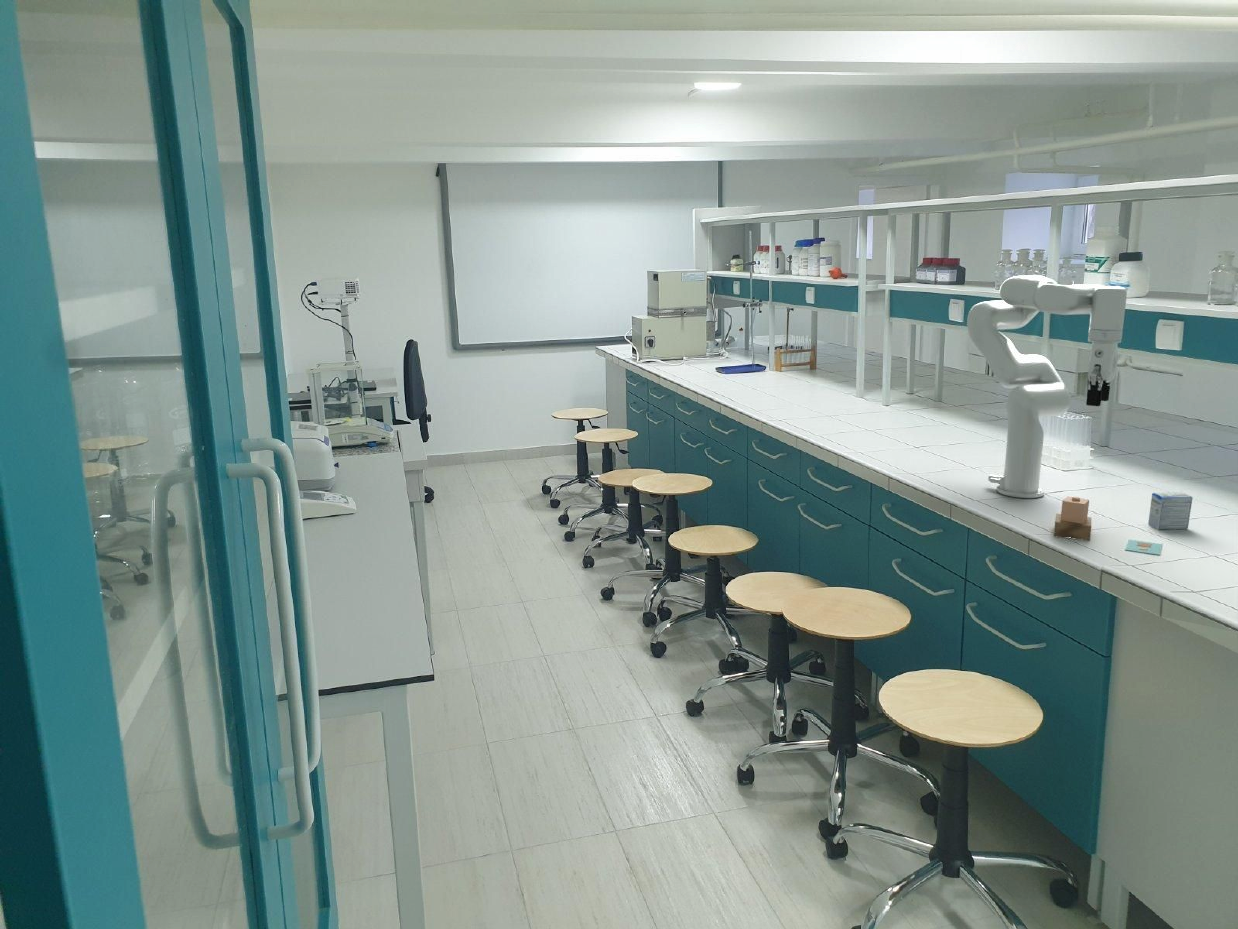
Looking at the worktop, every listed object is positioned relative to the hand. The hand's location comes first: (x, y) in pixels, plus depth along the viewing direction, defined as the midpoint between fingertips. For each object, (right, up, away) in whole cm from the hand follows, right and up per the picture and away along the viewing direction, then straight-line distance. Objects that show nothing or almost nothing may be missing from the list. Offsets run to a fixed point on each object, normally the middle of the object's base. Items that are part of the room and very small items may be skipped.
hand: (1097, 403), depth 235 cm
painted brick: (-10, -30, -8) cm, 32 cm away
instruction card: (+1, -36, -18) cm, 40 cm away
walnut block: (-10, -33, -8) cm, 36 cm away
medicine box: (+16, -32, -3) cm, 36 cm away
